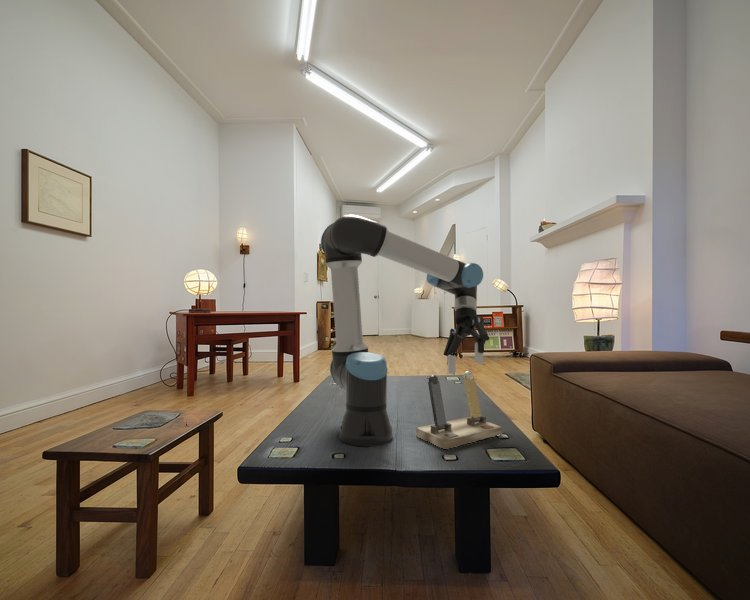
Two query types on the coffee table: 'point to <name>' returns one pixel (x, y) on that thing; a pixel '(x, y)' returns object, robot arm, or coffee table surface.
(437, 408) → the lever slate
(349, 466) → the coffee table surface
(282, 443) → the coffee table surface
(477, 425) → the console
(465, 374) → the lever brass
